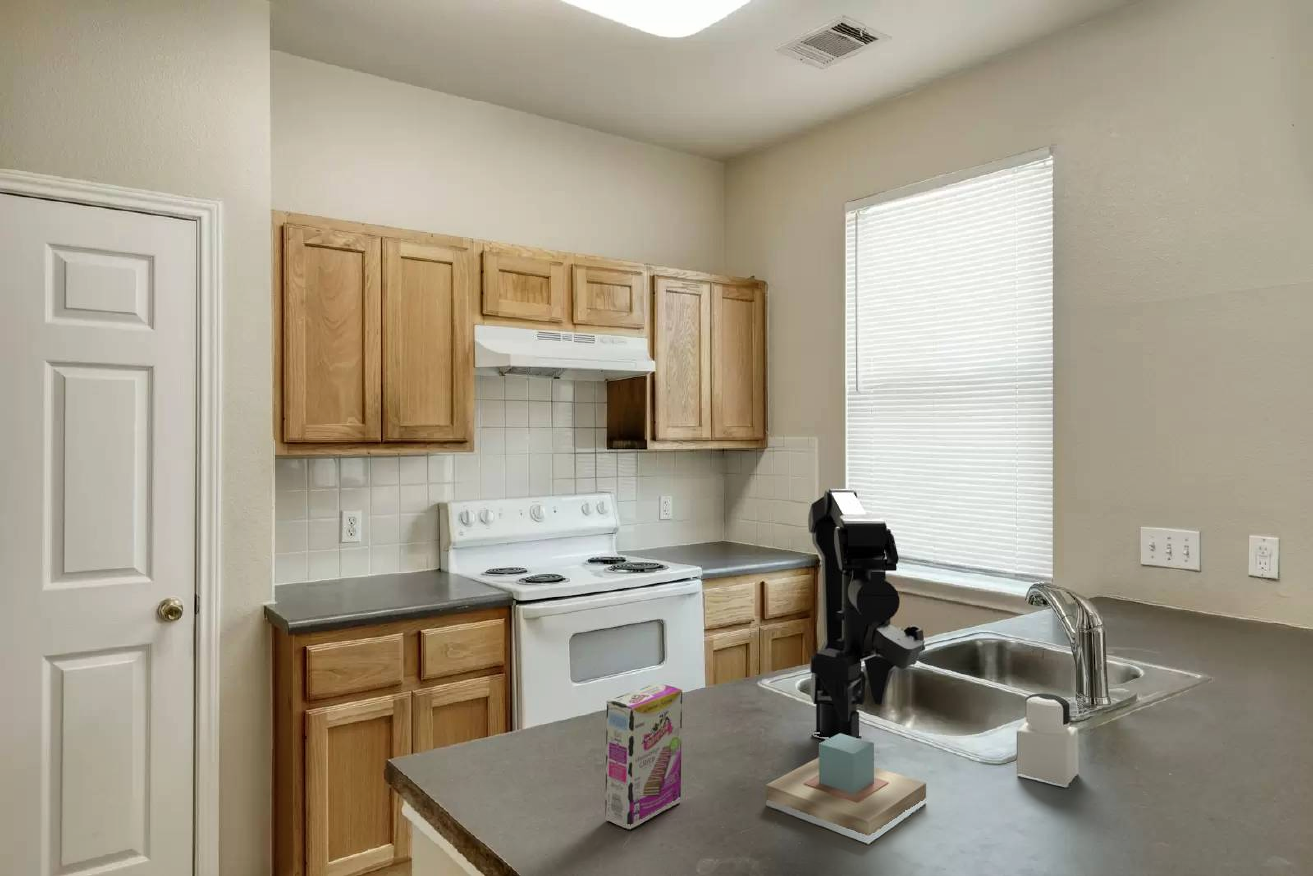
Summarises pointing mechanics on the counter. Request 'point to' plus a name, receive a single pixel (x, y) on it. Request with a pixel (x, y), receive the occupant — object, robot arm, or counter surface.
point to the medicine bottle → (1047, 740)
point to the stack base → (847, 798)
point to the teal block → (846, 763)
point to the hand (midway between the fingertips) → (862, 712)
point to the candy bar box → (643, 752)
